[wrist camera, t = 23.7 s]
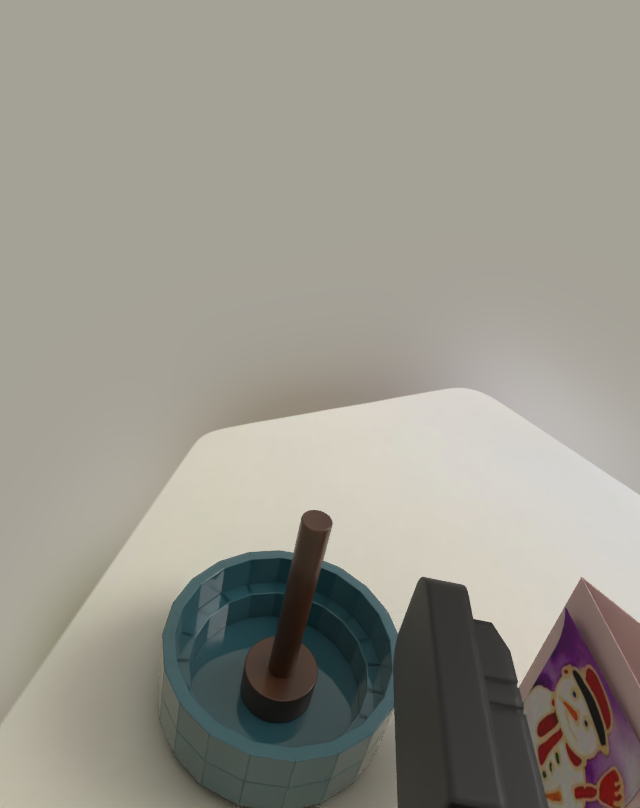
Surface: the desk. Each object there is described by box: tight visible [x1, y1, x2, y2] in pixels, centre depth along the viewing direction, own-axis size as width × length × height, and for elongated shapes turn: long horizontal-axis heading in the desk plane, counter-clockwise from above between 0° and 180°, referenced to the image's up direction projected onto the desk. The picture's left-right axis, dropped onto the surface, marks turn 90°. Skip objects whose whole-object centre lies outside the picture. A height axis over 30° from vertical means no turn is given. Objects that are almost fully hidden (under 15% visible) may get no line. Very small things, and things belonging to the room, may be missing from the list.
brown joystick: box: [241, 510, 332, 723], centre depth 37 cm, size 5×5×15 cm
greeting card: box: [519, 577, 640, 808], centre depth 34 cm, size 11×7×15 cm, turn 1°
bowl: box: [158, 550, 398, 808], centre depth 39 cm, size 16×16×6 cm
